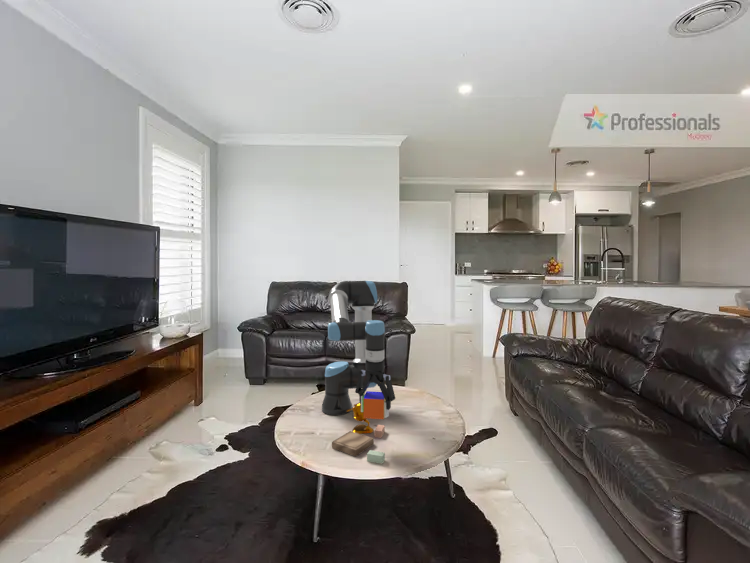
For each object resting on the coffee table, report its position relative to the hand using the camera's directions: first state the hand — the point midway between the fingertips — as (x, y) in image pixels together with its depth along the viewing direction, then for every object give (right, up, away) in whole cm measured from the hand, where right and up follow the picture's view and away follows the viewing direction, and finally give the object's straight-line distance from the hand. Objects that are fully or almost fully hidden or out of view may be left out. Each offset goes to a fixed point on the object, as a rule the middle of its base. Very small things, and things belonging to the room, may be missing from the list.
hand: (374, 413), depth 156 cm
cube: (0, -1, 0) cm, 1 cm away
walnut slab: (-9, -13, 0) cm, 16 cm away
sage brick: (0, -14, -11) cm, 18 cm away
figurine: (-6, -13, +15) cm, 21 cm away
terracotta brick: (+2, -13, +11) cm, 17 cm away
